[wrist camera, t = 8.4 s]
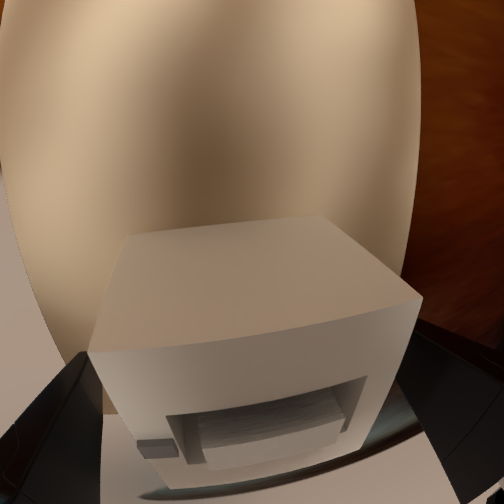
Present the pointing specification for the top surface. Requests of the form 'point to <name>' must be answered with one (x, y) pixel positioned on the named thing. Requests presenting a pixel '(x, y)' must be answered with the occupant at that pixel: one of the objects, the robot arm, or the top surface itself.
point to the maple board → (199, 129)
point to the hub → (247, 335)
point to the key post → (269, 429)
